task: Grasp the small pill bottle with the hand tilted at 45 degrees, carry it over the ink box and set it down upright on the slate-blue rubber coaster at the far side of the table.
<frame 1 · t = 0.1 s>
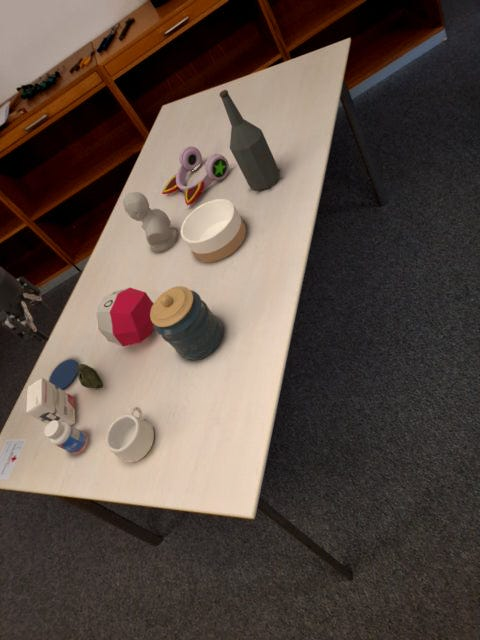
hand: (47, 326, 101), 23 cm above the table, tool pointing down, fingers open, 8 cm apart
figurine: (165, 241, 143), on the table
headphones: (197, 184, 155), on the table
pill bottle: (80, 444, 108), on the table
decorative stone: (96, 381, 119), on the table
mug: (139, 437, 101), on the table
ink box: (68, 414, 116), on the table
canister: (201, 339, 111), on the table
coaster: (64, 375, 125), on the table
bottle: (265, 181, 138), on the table
decorative object: (142, 331, 122), on the table
bowl: (220, 240, 131), on the table
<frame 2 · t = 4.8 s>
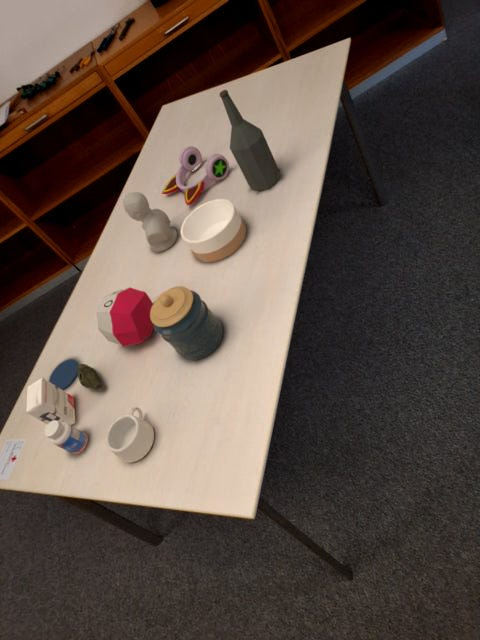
nothing on the table moved.
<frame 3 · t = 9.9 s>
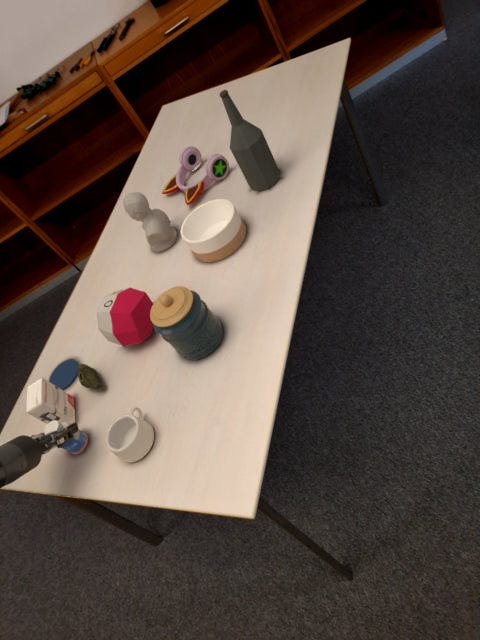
hand: (66, 428, 105), 5 cm above the table, tool tilted 45°, fingers closed on pill bottle, 5 cm apart
pill bottle: (80, 444, 108), on the table, touching gripper
everything else where it was.
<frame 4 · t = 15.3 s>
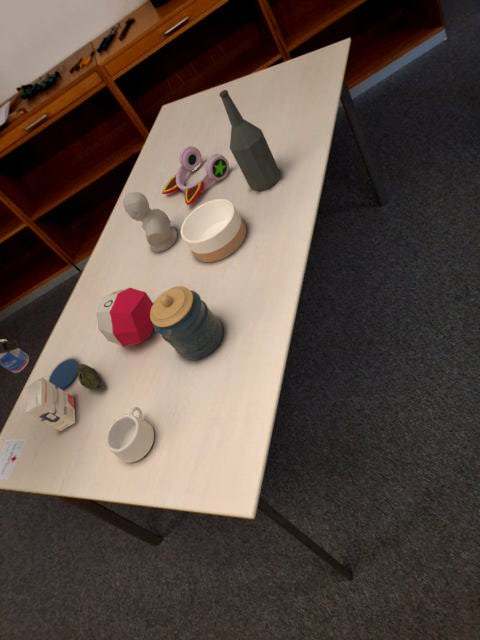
hand: (6, 346, 106), 22 cm above the table, tool tilted 45°, fingers closed on pill bottle, 5 cm apart
pill bottle: (21, 364, 109), point 16 cm above the table, touching gripper
everything else where it was.
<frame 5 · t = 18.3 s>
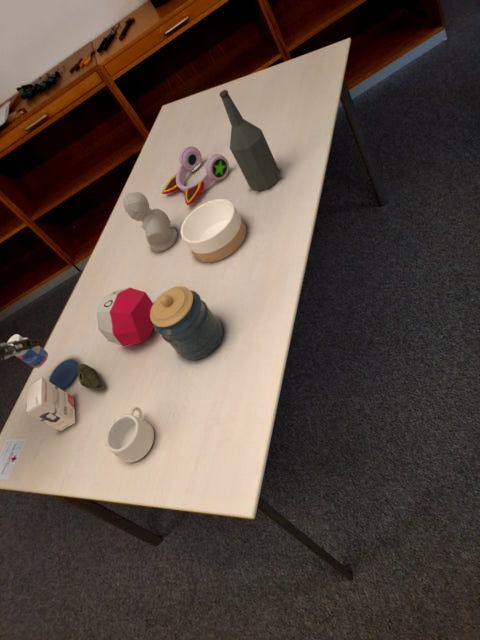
hand: (28, 344, 116), 14 cm above the table, tool tilted 45°, fingers closed on pill bottle, 5 cm apart
pill bottle: (41, 360, 119), point 9 cm above the table, touching gripper
everything else where it was.
when the fingers open (6 cm above the table, at t = 21.0 s): pill bottle stays where it is, resting on coaster.
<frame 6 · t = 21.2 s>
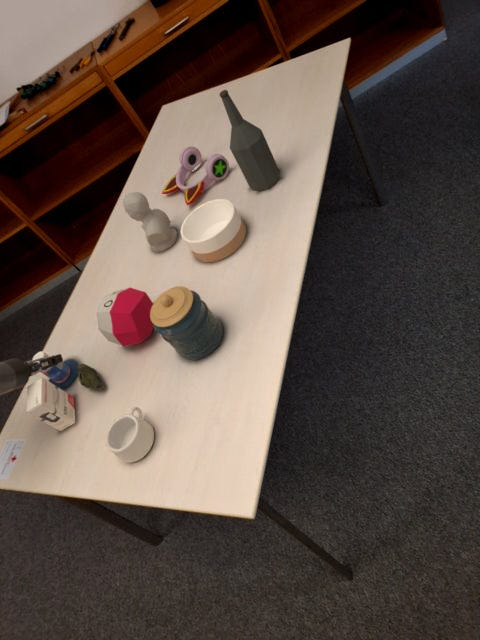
hand: (51, 360, 122), 6 cm above the table, tool tilted 45°, fingers open, 6 cm apart
pill bottle: (63, 375, 125), resting on coaster
everything else where it was.
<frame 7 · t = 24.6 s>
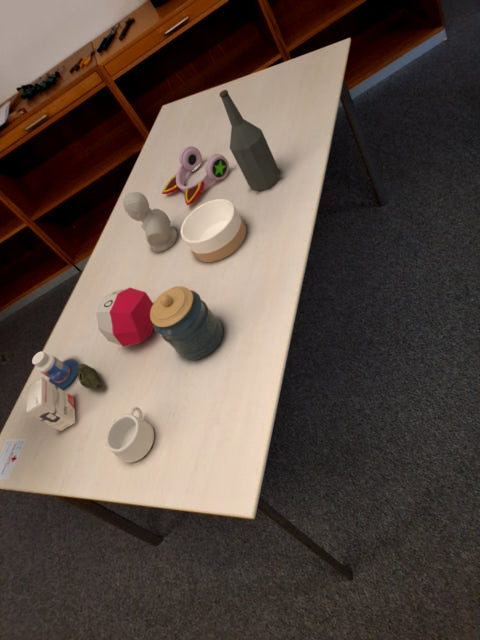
hand: (1, 358, 109), 19 cm above the table, tool tilted 45°, fingers open, 8 cm apart
nothing on the table moved.
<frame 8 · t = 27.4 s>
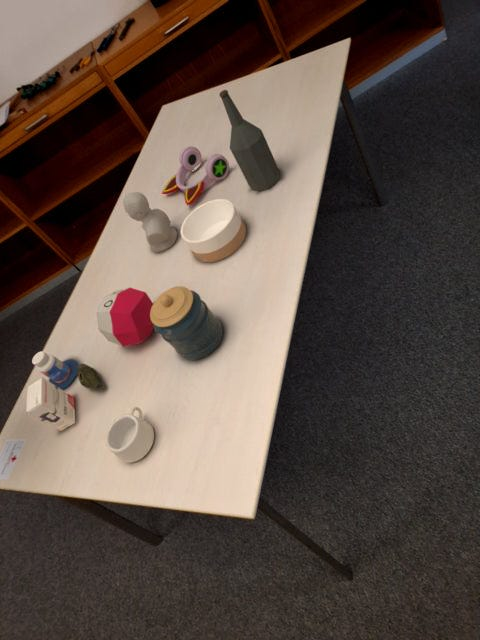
nothing on the table moved.
at the end: pill bottle 0.1 cm off-centre on the coaster, point 0.4 cm above the coaster's base; pill bottle tilted 0°; the gripper is holding nothing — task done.
